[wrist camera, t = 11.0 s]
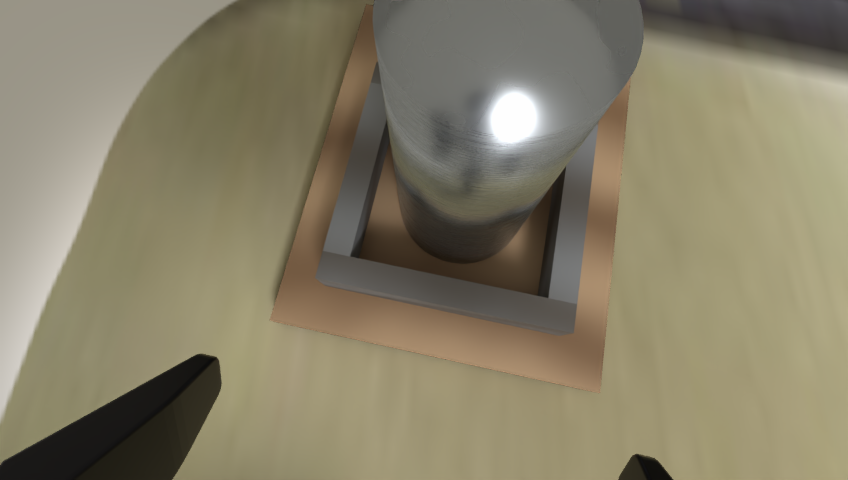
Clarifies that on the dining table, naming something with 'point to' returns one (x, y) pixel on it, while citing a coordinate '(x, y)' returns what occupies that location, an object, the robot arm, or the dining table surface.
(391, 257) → the base
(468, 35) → the duct elbow
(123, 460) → the robot arm
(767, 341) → the dining table surface
